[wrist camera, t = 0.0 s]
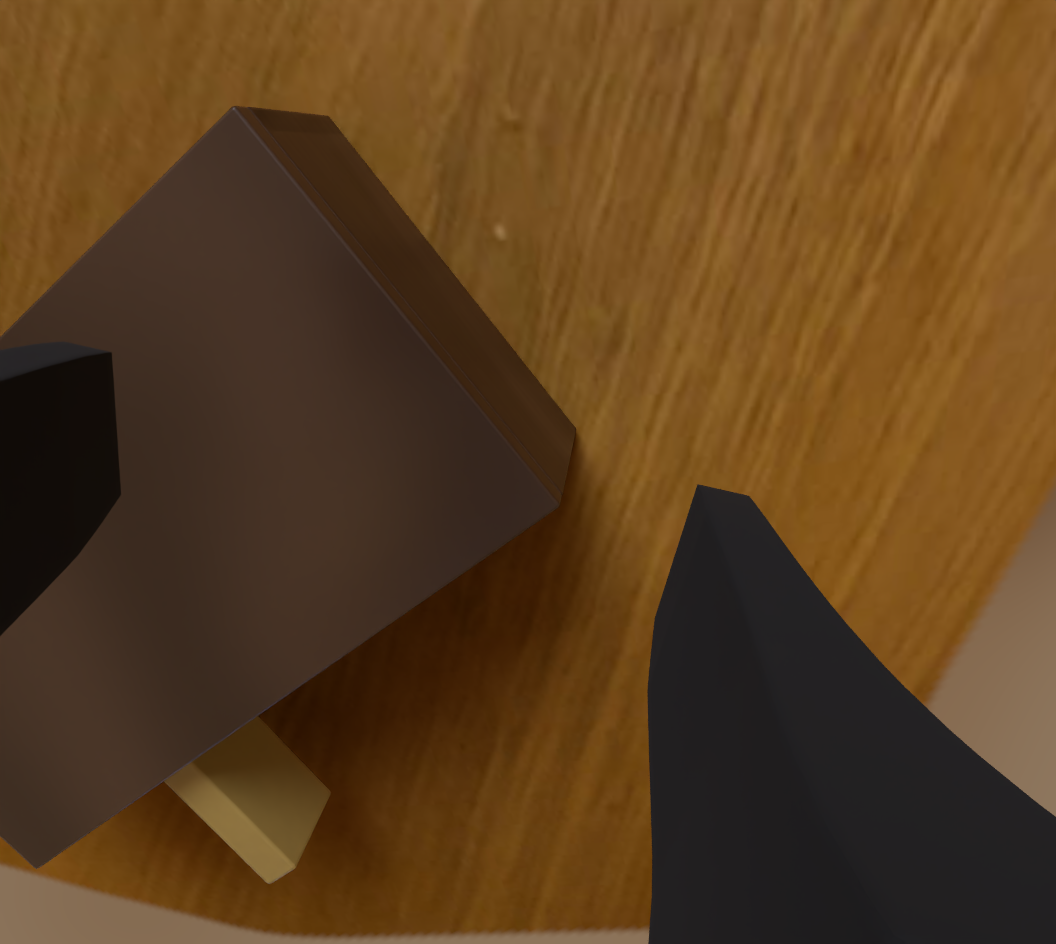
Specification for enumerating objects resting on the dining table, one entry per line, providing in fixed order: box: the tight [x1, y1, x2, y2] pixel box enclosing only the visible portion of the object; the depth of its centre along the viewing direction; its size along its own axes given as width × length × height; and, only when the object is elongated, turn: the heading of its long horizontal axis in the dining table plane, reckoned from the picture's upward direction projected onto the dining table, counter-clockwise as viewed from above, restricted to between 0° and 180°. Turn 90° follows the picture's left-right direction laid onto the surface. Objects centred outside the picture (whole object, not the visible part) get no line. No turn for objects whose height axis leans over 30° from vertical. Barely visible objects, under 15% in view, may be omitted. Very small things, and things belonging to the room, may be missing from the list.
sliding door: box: [164, 716, 331, 884], centre depth 23 cm, size 7×5×4 cm
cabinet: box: [0, 106, 576, 869], centre depth 21 cm, size 16×9×5 cm, turn 128°
